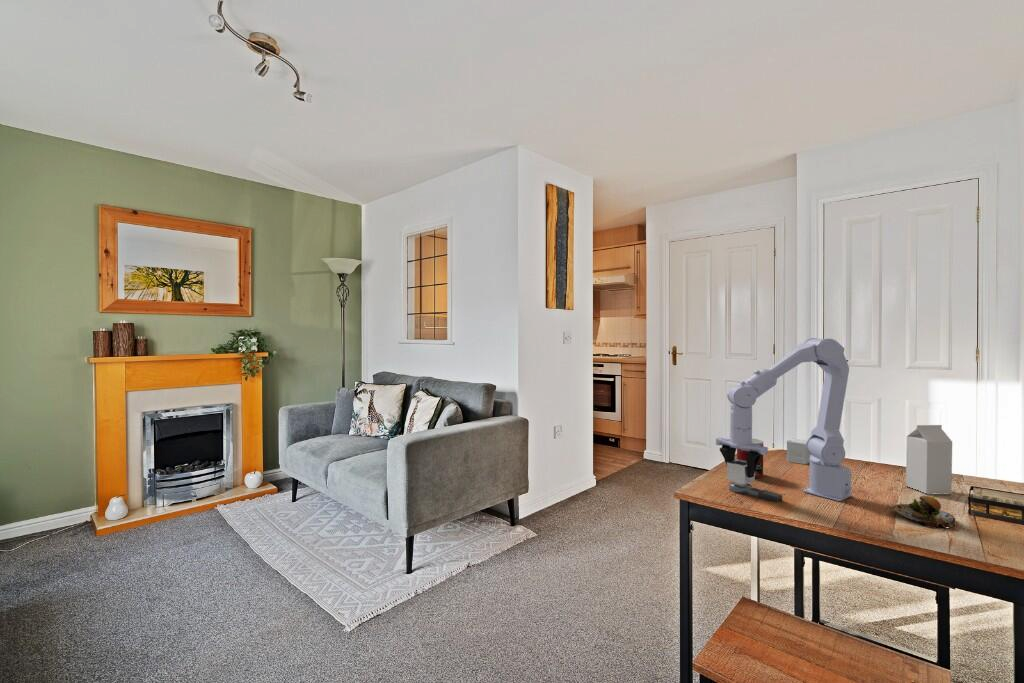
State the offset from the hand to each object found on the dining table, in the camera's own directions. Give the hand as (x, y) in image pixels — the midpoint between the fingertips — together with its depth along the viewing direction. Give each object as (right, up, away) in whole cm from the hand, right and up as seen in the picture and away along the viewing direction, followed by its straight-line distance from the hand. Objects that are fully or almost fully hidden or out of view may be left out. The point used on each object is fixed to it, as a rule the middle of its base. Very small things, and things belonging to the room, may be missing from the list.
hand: (740, 474), depth 138 cm
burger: (+35, -6, -21) cm, 41 cm away
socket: (0, -2, 0) cm, 2 cm away
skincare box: (+35, -4, +30) cm, 47 cm away
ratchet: (+2, -5, -3) cm, 6 cm away
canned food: (+10, -5, +15) cm, 19 cm away
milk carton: (+54, -5, -1) cm, 54 cm away
